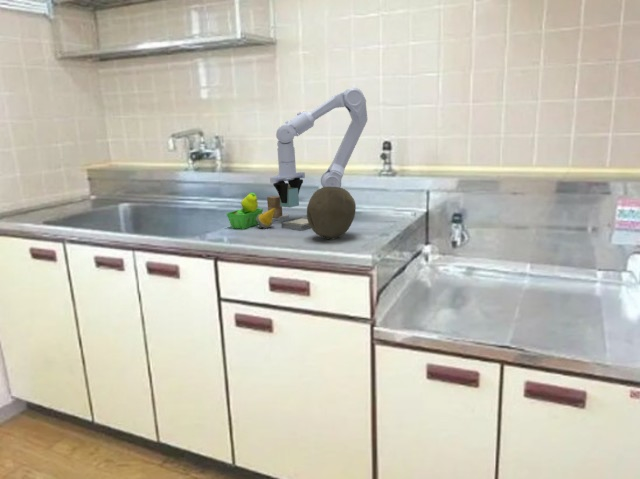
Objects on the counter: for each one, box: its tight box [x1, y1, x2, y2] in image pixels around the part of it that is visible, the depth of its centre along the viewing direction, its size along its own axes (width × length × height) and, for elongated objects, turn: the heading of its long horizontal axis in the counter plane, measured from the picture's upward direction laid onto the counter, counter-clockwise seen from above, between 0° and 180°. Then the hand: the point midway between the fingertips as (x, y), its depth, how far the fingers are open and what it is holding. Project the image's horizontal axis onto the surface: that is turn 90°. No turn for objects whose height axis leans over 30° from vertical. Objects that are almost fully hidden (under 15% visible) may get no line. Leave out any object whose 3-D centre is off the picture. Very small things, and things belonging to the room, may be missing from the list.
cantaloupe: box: [306, 186, 357, 240], centre depth 155 cm, size 14×14×15 cm
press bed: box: [280, 217, 312, 231], centre depth 175 cm, size 10×9×2 cm
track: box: [272, 213, 290, 222], centre depth 188 cm, size 11×4×1 cm, turn 138°
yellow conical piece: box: [256, 208, 275, 229], centre depth 174 cm, size 5×5×10 cm
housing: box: [280, 185, 300, 208], centre depth 183 cm, size 4×4×7 cm
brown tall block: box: [266, 195, 283, 217], centre depth 188 cm, size 3×4×7 cm
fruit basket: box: [225, 192, 264, 230], centre depth 179 cm, size 11×9×11 cm
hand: (289, 201), depth 183 cm, fingers closed on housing, 4 cm apart
